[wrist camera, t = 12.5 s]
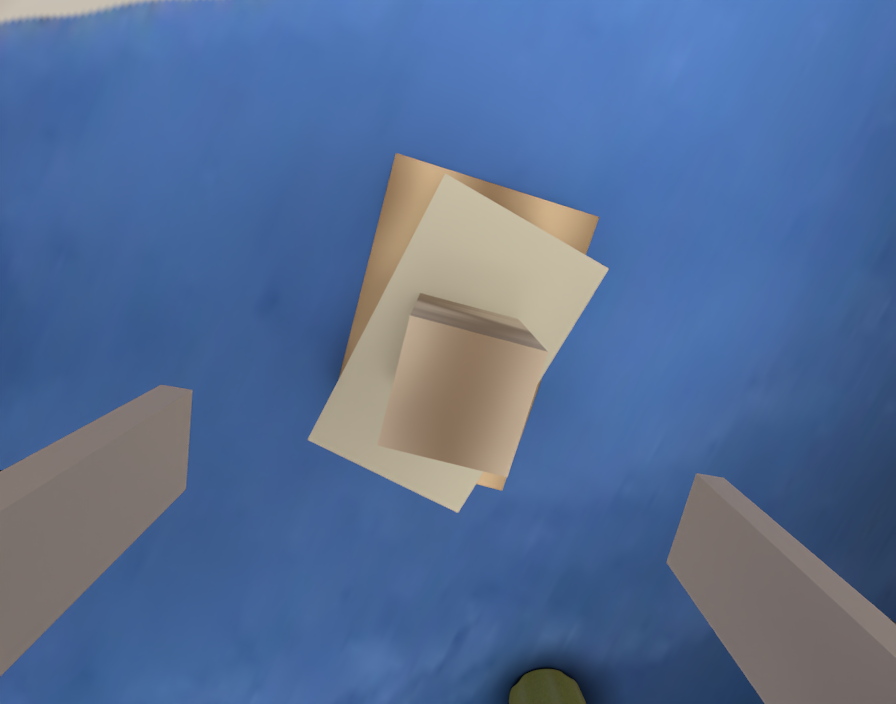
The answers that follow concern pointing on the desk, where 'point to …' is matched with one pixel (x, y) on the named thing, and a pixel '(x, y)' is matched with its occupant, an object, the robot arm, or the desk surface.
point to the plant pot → (546, 689)
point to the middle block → (462, 281)
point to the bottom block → (407, 207)
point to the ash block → (462, 386)
